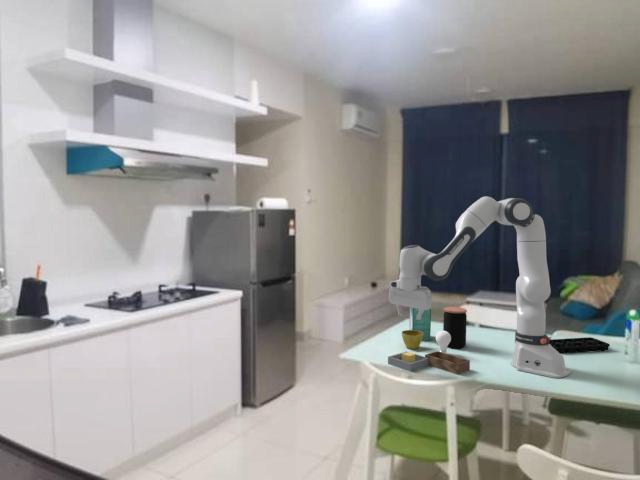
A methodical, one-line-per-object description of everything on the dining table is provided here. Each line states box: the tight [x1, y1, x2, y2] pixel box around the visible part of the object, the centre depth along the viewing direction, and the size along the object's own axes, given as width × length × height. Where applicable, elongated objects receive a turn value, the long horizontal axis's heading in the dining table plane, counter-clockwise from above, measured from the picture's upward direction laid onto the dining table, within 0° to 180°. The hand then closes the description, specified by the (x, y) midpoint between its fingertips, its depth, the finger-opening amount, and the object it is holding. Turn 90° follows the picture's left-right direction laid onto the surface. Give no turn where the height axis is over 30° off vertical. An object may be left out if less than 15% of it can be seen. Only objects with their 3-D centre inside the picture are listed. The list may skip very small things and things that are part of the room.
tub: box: [387, 351, 429, 372], centre depth 199 cm, size 12×12×4 cm
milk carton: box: [408, 307, 432, 341], centre depth 242 cm, size 9×9×25 cm
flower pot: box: [401, 329, 423, 350], centre depth 225 cm, size 10×10×7 cm
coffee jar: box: [442, 306, 468, 350], centre depth 228 cm, size 11×11×18 cm
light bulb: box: [435, 330, 451, 354], centre depth 214 cm, size 7×7×11 cm
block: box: [402, 351, 417, 363], centre depth 199 cm, size 4×4×4 cm
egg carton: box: [549, 336, 611, 355], centre depth 226 cm, size 18×30×4 cm, turn 113°
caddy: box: [424, 350, 471, 375], centre depth 196 cm, size 16×8×4 cm, turn 40°
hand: (409, 317), depth 198 cm, fingers open, 8 cm apart
